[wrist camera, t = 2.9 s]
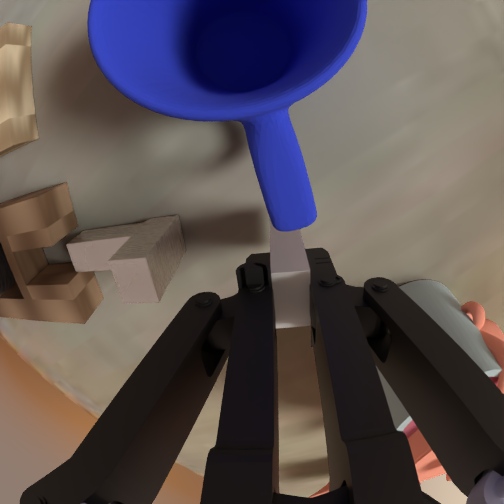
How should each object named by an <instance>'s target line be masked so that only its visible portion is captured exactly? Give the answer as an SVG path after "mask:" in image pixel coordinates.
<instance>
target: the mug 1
mask: <svg viewBox="0 0 504 504" xmlns="http://www.w3.org/2000/svg"><path fill="white" fill-rule="evenodd" d="M366 15H367V0H91V2H90V6H89V12H88V37H89V43H90V47H91V50H92V53H93V56H94V58H95V60H96V63H97V65H98V66H99V68H100V70H101V71H102V73H103V74H104V76H105V77H106V78H107V79H108V81H109V82H110V83H111V84H112V85H113V86H114V87H115V88H116V89H117V90H118V91H120V92H121V93H122V94H123V95H125V96H126V97H127V98H129V99H130V100H132V101H133V102H135V103H137V104H139V105H140V106H143V107H145V108H147V109H149V110H152V111H154V112H157V113H160V114H163V115H166V116H170V117H175V118H180V119H185V120H194V121H230V120H234V121H239V122H241V123H242V124H243V126H244V129H245V132H246V136H247V141H248V145H249V149H250V153H251V157H252V160H253V164H254V168H255V172H256V175H257V178H258V182H259V185H260V188H261V191H262V194H263V198H264V201H265V204H266V208H267V211H268V214H269V217H270V220H271V223H272V225H273V227H274V228H275V229H276V230H278V231H281V232H288V231H294V230H298V229H301V228H304V227H307V226H309V225H310V224H312V223H313V222H314V221H315V219H316V217H317V211H316V207H315V202H314V198H313V193H312V190H311V186H310V182H309V178H308V174H307V171H306V167H305V163H304V160H303V156H302V153H301V150H300V147H299V144H298V141H297V138H296V135H295V132H294V129H293V127H292V124H291V121H290V118H289V114H288V108H289V107H290V106H291V105H292V104H293V103H295V102H296V101H299V100H300V99H302V98H304V97H306V96H308V95H309V94H311V93H312V92H314V91H315V90H317V89H318V88H319V87H321V86H322V85H324V84H325V83H326V82H327V81H329V80H330V79H331V78H332V77H333V76H334V75H335V74H336V73H337V72H338V71H339V70H340V69H341V68H342V66H343V65H344V64H345V63H346V62H347V60H348V59H349V57H350V56H351V55H352V53H353V52H354V50H355V48H356V46H357V44H358V42H359V40H360V38H361V35H362V32H363V29H364V26H365V21H366Z"/></svg>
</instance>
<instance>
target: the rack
mask: <svg viewBox="0 0 504 504" xmlns="http://www.w3.org/2000/svg"><path fill="white" fill-rule="evenodd" d="M31 27H32V26H26V25H20V24H14V23H6V24H5V25H3V26H2V27H1V28H0V157H1V156H3V155H5V154H7V153H9V152H11V151H13V150H15V149H17V148H19V147H21V146H23V145H25V144H27V143H30V142H32V141H34V140H36V139H38V138H39V136H38V130H37V123H36V115H35V107H34V97H33V85H32V67H31Z"/></svg>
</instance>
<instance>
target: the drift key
mask: <svg viewBox="0 0 504 504" xmlns="http://www.w3.org/2000/svg"><path fill="white" fill-rule="evenodd" d="M66 245H67V248H68V251H69V254H70V257H71V260H72V263H73V265H74V268H75V271H76V272H88V271H103V270H111V271H112V274H113V277H114V280H115V283H116V285H117V288H118V291H119V293H120V296H121V299H122V301H123V303H159V302H160V300H161V298H162V296H163V294H164V292H165V290H166V288H167V286H168V284H169V283H170V281H171V279H172V277H173V275H174V273H175V271H176V269H177V267H178V265H179V263H180V262H181V260H182V258H183V256H184V254H185V252H186V248H185V243H184V239H183V234H182V229H181V225H180V220H179V215H175V216H167V217H159V218H151V219H148V220H147V221H146V222H142V223H134V224H127V225H120V226H113V227H106V228H99V229H92V230H85V231H82V232H81V233H80V234H78V235H77V236H76V237H75V238H73V239H72V240H71V241H70V242H69V243H67V244H66Z"/></svg>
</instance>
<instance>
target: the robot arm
mask: <svg viewBox="0 0 504 504" xmlns="http://www.w3.org/2000/svg"><path fill="white" fill-rule="evenodd" d="M236 275H237V281H238V288H239V290H238V293H237V294H236V295H234V296H231V297H228V298H225V299H221V300H220V297H219V295H217V294H216V293H212V292H202V293H198V294H196V295H194V296H192V297H191V298H190V299H189V300H188V301H187V302H186V303H185V305H184V306H183V307H182V309H181V310H180V311H179V312H178V314H177V315H176V316H175V318H174V319H173V320H172V322H171V323H170V324H169V326H168V327H167V328H166V329H165V331H164V332H163V333H162V335H161V336H160V337H159V339H158V340H157V341H156V343H155V344H154V345H153V347H152V348H151V349H150V350H149V352H148V353H147V354H146V356H145V357H144V358H143V360H142V361H141V362H140V364H139V365H138V366H137V368H136V369H135V370H134V372H133V373H132V374H131V376H130V377H129V378H128V380H127V381H126V382H125V384H124V385H123V387H122V388H121V389H120V391H119V392H118V393H117V395H116V396H115V397H114V399H113V400H112V401H111V403H110V404H109V406H108V407H107V408H106V410H105V411H104V412H103V414H102V415H101V416H100V418H99V419H98V421H97V422H96V423H95V425H94V426H93V428H92V429H91V430H90V432H89V433H88V435H87V436H86V437H85V439H84V440H83V441H82V443H81V444H80V446H79V447H78V448H77V450H76V451H75V453H74V454H73V456H72V457H71V458H70V459H69V460H67V461H66V462H64V463H63V464H62V465H60V466H59V467H57V468H56V469H55V470H53V471H52V472H50V473H49V474H47V475H46V476H45V477H44V478H42V479H40V480H39V481H37V482H36V483H35V484H33V485H31V486H30V487H29V488H27V489H26V490H25V491H24V492H23V494H22V496H21V498H20V504H152V502H153V501H154V499H155V498H156V496H157V494H158V492H159V490H160V489H161V487H162V485H163V483H164V481H165V479H166V477H167V476H168V474H169V472H170V470H171V468H172V466H173V464H174V462H175V460H176V459H177V457H178V455H179V453H180V451H181V449H182V447H183V445H184V443H185V441H186V439H187V437H188V435H189V433H190V432H191V430H192V428H193V426H194V424H195V422H196V420H197V418H198V416H199V414H200V412H201V410H202V408H203V406H204V404H205V402H206V400H207V398H208V396H209V394H210V392H211V390H212V388H213V386H214V384H215V382H216V380H217V378H218V376H219V374H220V372H221V370H222V368H223V366H224V364H225V362H226V360H227V358H228V364H227V371H226V378H225V385H224V392H223V399H222V405H221V412H220V420H219V427H218V434H217V441H216V445H215V447H213V448H211V449H210V451H209V453H208V457H207V462H206V468H205V475H204V482H203V488H202V495H201V502H200V504H441V503H439V502H438V501H436V500H435V499H433V498H432V497H430V496H429V495H427V494H426V493H424V492H422V491H421V487H420V483H419V479H418V475H417V471H416V467H415V463H414V459H413V455H412V452H411V448H410V445H409V441H408V439H407V436H406V435H405V433H404V432H403V431H398V430H397V429H396V428H395V426H394V423H393V419H392V416H391V412H390V409H389V406H388V402H387V399H386V396H385V393H384V389H383V386H382V383H381V380H380V377H379V374H378V371H377V368H378V369H379V371H380V372H381V374H382V375H383V377H384V378H385V379H386V381H387V382H388V384H389V385H390V387H391V388H392V390H393V391H394V393H395V394H396V396H397V397H398V399H399V400H400V402H401V403H402V405H403V406H404V408H405V409H406V411H407V412H408V414H409V415H410V417H411V418H412V420H413V421H414V423H415V424H416V426H417V427H418V429H419V430H420V432H421V434H422V435H423V437H424V438H425V440H426V441H427V443H428V444H429V446H430V448H431V449H432V451H433V452H434V454H435V455H436V457H437V459H438V460H439V462H440V463H441V465H442V467H443V468H444V470H445V471H446V473H447V474H448V476H449V477H450V479H451V480H452V482H453V483H454V484H455V485H456V486H457V487H458V488H459V490H460V491H461V492H462V493H464V494H465V495H466V496H467V497H468V498H467V503H466V504H504V394H503V393H502V392H501V391H500V389H499V388H498V387H497V386H496V385H495V384H494V383H493V381H492V380H491V379H490V378H489V377H488V376H487V375H486V374H485V373H484V371H483V370H482V369H481V368H480V367H479V366H478V365H477V364H476V363H475V362H474V361H473V360H472V359H471V357H470V356H469V355H468V354H467V353H466V352H465V351H464V350H463V349H462V348H461V347H460V346H459V345H458V344H457V343H456V342H455V341H454V340H453V339H452V338H451V337H450V336H449V335H448V334H447V333H446V332H445V331H444V330H443V329H442V328H441V327H440V326H439V325H438V324H437V323H436V322H435V321H434V320H433V319H432V318H431V317H430V316H429V315H428V314H427V313H426V312H425V311H424V310H423V309H422V308H421V307H420V306H419V305H418V304H416V303H415V302H414V301H413V300H412V299H411V298H410V297H409V296H408V295H407V294H406V293H405V292H404V291H403V290H401V289H400V288H399V287H398V286H397V285H396V284H395V283H394V282H392V281H391V280H389V279H386V278H380V277H377V278H371V279H369V280H367V281H366V282H365V283H364V288H363V287H354V286H349V285H346V284H345V281H344V280H343V278H342V277H340V276H339V275H337V273H336V271H335V268H334V266H333V263H332V261H331V258H330V256H329V253H328V252H327V251H326V250H325V249H323V248H312V249H305V248H304V244H303V240H302V236H301V232H300V229H298V230H294V231H288V232H281V231H278V230H276V229H275V228H274V227H273V225H272V223H271V220H270V253H259V254H251V255H250V256H249V257H248V258H247V259H246V263H245V264H242V265H240V266H239V267H238V268H237V270H236ZM303 326H311V347H314V354H315V361H316V367H317V374H318V381H319V388H320V396H321V403H322V411H323V419H324V427H325V436H326V445H327V454H328V463H329V474H330V482H329V492H327V493H324V494H321V495H318V496H315V497H311V498H306V497H298V496H292V495H285V494H280V493H279V430H278V371H277V336H276V328H290V327H303ZM228 356H229V357H228ZM376 366H377V368H376Z"/></svg>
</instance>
